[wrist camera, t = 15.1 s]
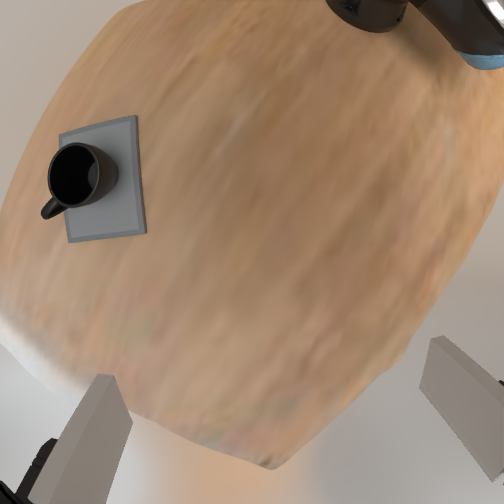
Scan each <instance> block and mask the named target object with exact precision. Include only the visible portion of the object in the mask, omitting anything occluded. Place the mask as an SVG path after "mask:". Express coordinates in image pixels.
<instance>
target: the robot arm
mask: <svg viewBox="0 0 504 504" xmlns="http://www.w3.org/2000/svg"><path fill="white" fill-rule="evenodd" d="M326 1H327V3H328V5H329V6H330V7H331V9H332V10H333V11H334V12H335V13H336V14H337V15H338V16H339V17H341V18H342V19H343V20H345V21H346V22H348V23H350V24H351V25H353V26H355V27H357V28H360V29H362V30H366V31H370V32H376V33H382V32H387V31H390V30H392V29H393V28H395V27H396V26H397V25H398V24H399V23H400V22H401V20H402V19H403V16H404V13H405V10H406V7H407V4H408V2H409V1H410V2H411V3H412V4H413V5H414V6H415V7H416V8H417V9H418V10H419V11H420V12H421V13H422V14H423V15H424V16H425V17H426V18H427V19H428V20H429V21H430V22H431V23H432V24H433V25H434V26H435V27H436V28H437V29H438V30H439V31H440V32H441V33H442V35H443V36H444V37H445V38H446V39H447V40H448V41H449V42H450V44H451V46H452V48H453V49H454V50H455V51H456V52H458V53H459V54H460V55H461V56H462V58H463V59H464V60H465V61H466V62H467V63H468V64H469V65H470V66H472V67H474V68H476V69H480V70H493V69H498V68H502V67H504V0H326ZM419 389H420V390H421V391H422V392H423V394H424V395H425V396H426V397H427V399H428V400H429V401H430V402H431V404H432V405H433V406H434V407H435V408H436V410H437V411H438V412H439V414H440V415H441V416H442V417H443V419H444V420H445V421H446V422H447V424H448V425H449V426H450V427H451V429H452V430H453V431H454V433H455V434H456V435H457V436H458V438H459V439H460V440H461V442H462V443H463V444H464V446H465V447H466V448H467V449H468V451H469V452H470V453H471V455H472V456H473V457H474V459H475V460H476V461H477V463H478V464H479V465H480V467H481V468H482V469H483V471H484V472H485V474H486V475H487V476H488V478H489V479H490V480H491V482H494V481H495V480H497V479H498V478H499V477H501V476H502V475H504V382H503V381H501V380H500V381H497V380H496V379H495V378H493V377H492V376H491V375H490V374H489V373H488V372H486V370H484V369H483V368H482V367H481V366H480V365H478V364H477V363H476V362H475V361H474V360H473V359H472V358H470V357H469V356H468V355H467V354H466V353H464V352H463V351H462V350H461V349H460V348H459V347H457V346H456V345H455V344H454V343H452V342H451V341H450V340H449V339H448V338H446V337H445V336H439V337H436V338H433V339H431V341H430V345H429V350H428V354H427V359H426V363H425V367H424V371H423V375H422V379H421V383H420V386H419ZM132 424H133V421H132V419H131V417H130V415H129V412H128V410H127V407H126V405H125V403H124V400H123V398H122V395H121V393H120V390H119V387H118V385H117V382H116V379H115V377H114V375H107V374H98V375H97V376H96V378H95V379H94V381H93V382H92V384H91V386H90V387H89V389H88V390H87V392H86V394H85V395H84V397H83V399H82V400H81V402H80V403H79V405H78V407H77V408H76V410H75V412H74V413H73V415H72V417H71V418H70V420H69V422H68V424H67V425H66V427H65V429H64V431H63V432H62V434H61V436H60V437H59V439H53V438H51V439H50V440H48V441H47V442H46V443H45V444H44V445H42V447H41V448H40V450H39V452H38V453H37V455H36V458H35V459H34V460H33V462H32V466H30V467H29V469H28V471H27V473H26V475H25V476H24V478H23V480H22V482H21V484H20V486H19V487H18V489H17V491H16V493H15V494H14V493H13V492H12V491H11V490H10V489H9V488H8V487H7V486H6V484H4V483H3V482H2V481H0V504H106V501H107V497H108V494H109V491H110V488H111V485H112V482H113V479H114V476H115V473H116V470H117V467H118V464H119V461H120V458H121V455H122V452H123V450H124V447H125V444H126V441H127V438H128V435H129V433H130V430H131V427H132Z"/></svg>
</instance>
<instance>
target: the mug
mask: <svg viewBox="0 0 504 504" xmlns="http://www.w3.org/2000/svg"><path fill="white" fill-rule="evenodd" d="M118 175H119V174H118V168H117V165H116V164H115V162H114V161H113V160H112V159H111V158H110V156H109V155H108V154H107V153H106V152H104V151H103V150H101V149H100V148H98V147H96V146H93V145H89V144H85V143H81V142H73V143H70V144H67V145H65V146H64V147H62V148H61V149H60V150H59V151H58V152H57V153H56V154H55V156H54V157H53V159H52V161H51V163H50V166H49V170H48V186H49V190H50V193H51V195H52V198H51V199H50V200H49V201H48V202H47V203H46V205H45V206H44V207H43V209H42V210H41V216H42V217H43V218H44V219H45V220H46V219H50V218H52V217H54V216H56V215H58V214H59V213H61V212H63V211H65V210H66V209H68V208H77V207H82V206H87V205H90V204H92V203H95V202H97V201H99V200H100V199H102V198H103V197H104V196H106V195H107V194H108V193H109V192H110V191H111V190H112V189H113V188H114V187H115V185H116V183H117V180H118Z"/></svg>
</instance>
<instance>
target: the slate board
mask: <svg viewBox="0 0 504 504" xmlns="http://www.w3.org/2000/svg"><path fill="white" fill-rule="evenodd" d="M73 142H81V143H85V144H89V145H93V146H96V147H98V148H100V149H101V150H103V151H104V152H106V153H107V154H108V155H109V156H110V158H111V159H112V160H113V161H114V162H115V164H116V165H117V168H118V174H119V175H118V180H117V183H116V185H115V187H114V188H113V189H112V190H111V191H110V192H109V193H108V194H107V195H106V196H104V197H103V198H102V199H100V200H99V201H97V202H95V203H92V204H90V205H87V206H82V207H77V208H68V209H66V210H65V211H64V216H65V224H66V231H67V237H68V243H74V242H82V241H90V240H98V239H106V238H115V237H123V236H132V235H141V234H146V233H147V228H146V220H145V211H144V202H143V192H142V182H141V170H140V156H139V139H138V117H137V116H136V115H133V116H128V117H123V118H119V119H115V120H110V121H106V122H102V123H98V124H94V125H90V126H87V127H83V128H79V129H76V130H73V131H69V132H66V133H63V134H59V150H60V149H61V148H62V147H64V146H65V145H67V144H70V143H73Z"/></svg>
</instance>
